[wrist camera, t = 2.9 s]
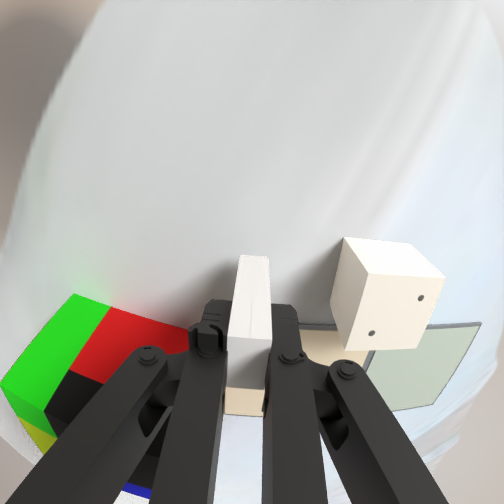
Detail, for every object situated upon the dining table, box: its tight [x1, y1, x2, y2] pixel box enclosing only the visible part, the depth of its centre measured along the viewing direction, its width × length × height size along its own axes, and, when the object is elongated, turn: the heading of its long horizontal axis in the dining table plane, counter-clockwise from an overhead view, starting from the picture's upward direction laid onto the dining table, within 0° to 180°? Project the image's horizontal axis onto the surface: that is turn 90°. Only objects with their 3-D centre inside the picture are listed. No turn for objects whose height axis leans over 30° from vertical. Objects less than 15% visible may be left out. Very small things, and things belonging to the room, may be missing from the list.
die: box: [329, 237, 446, 351], centre depth 15 cm, size 5×5×5 cm
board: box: [223, 322, 482, 417], centre depth 21 cm, size 22×11×1 cm, turn 85°
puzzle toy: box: [0, 294, 189, 499], centre depth 17 cm, size 10×10×10 cm
